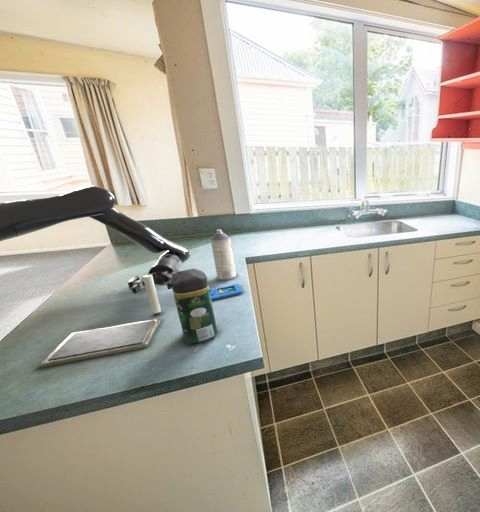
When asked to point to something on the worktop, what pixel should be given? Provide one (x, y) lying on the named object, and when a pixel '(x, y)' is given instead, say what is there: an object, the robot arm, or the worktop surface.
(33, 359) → the worktop surface
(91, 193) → the robot arm
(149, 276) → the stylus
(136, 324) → the chalkboard
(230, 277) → the aerosol can
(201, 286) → the coffee jar
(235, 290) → the handheld gaming device
